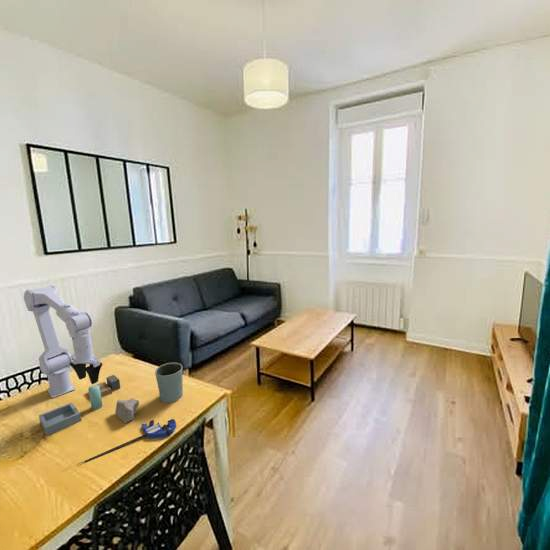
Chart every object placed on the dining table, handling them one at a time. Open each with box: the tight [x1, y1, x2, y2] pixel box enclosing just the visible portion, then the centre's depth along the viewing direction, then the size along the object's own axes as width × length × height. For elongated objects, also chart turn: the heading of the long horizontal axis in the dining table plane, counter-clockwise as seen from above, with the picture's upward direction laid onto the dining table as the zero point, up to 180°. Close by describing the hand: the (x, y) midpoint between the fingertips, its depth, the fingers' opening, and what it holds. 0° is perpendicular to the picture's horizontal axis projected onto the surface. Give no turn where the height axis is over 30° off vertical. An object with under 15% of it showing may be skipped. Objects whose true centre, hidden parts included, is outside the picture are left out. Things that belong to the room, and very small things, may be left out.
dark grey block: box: [105, 374, 121, 392], centre depth 128 cm, size 6×3×4 cm, turn 47°
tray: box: [38, 402, 82, 437], centre depth 107 cm, size 10×10×3 cm
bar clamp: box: [77, 418, 177, 466], centre depth 96 cm, size 32×2×10 cm
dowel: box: [87, 384, 103, 411], centre depth 115 cm, size 4×4×8 cm
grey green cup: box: [154, 362, 184, 404], centre depth 119 cm, size 10×10×12 cm
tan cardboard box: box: [96, 381, 113, 398], centre depth 125 cm, size 8×6×2 cm
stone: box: [115, 398, 140, 424], centre depth 110 cm, size 10×8×6 cm
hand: (88, 380), depth 114 cm, fingers open, 7 cm apart
